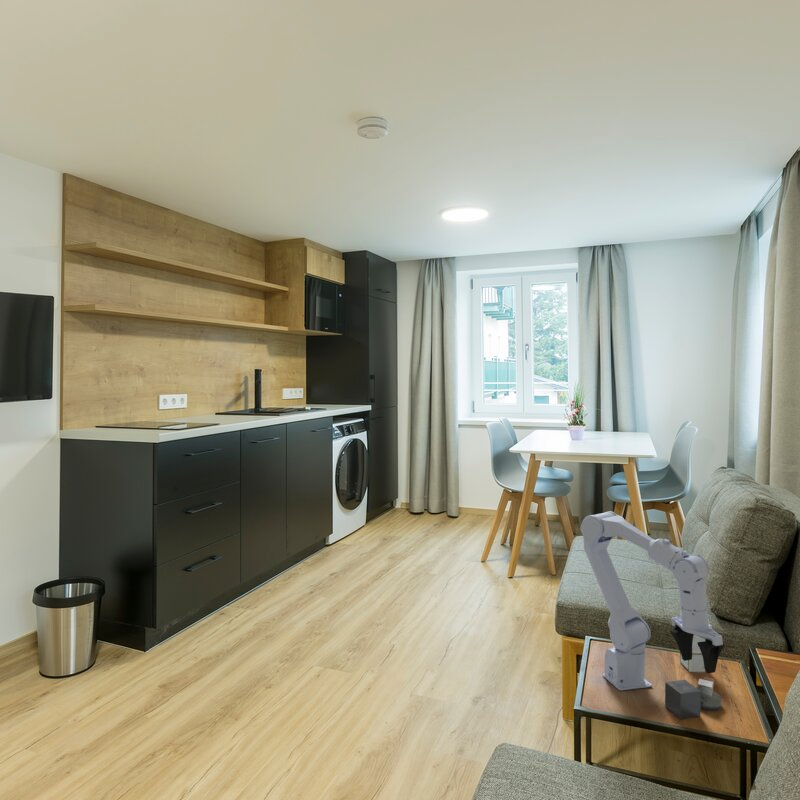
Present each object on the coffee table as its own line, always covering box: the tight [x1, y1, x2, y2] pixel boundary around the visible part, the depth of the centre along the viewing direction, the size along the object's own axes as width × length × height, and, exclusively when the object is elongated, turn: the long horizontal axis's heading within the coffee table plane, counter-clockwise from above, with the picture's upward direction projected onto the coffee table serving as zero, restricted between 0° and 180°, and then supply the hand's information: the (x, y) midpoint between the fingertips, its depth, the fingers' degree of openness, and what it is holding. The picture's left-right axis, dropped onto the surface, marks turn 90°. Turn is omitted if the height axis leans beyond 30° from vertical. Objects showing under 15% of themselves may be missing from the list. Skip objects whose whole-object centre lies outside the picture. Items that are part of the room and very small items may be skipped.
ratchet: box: [696, 676, 723, 712], centre depth 144 cm, size 14×7×5 cm, turn 147°
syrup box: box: [679, 611, 710, 673], centre depth 158 cm, size 6×6×14 cm
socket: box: [664, 679, 702, 720], centre depth 137 cm, size 5×5×6 cm
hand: (698, 665), depth 136 cm, fingers open, 7 cm apart
